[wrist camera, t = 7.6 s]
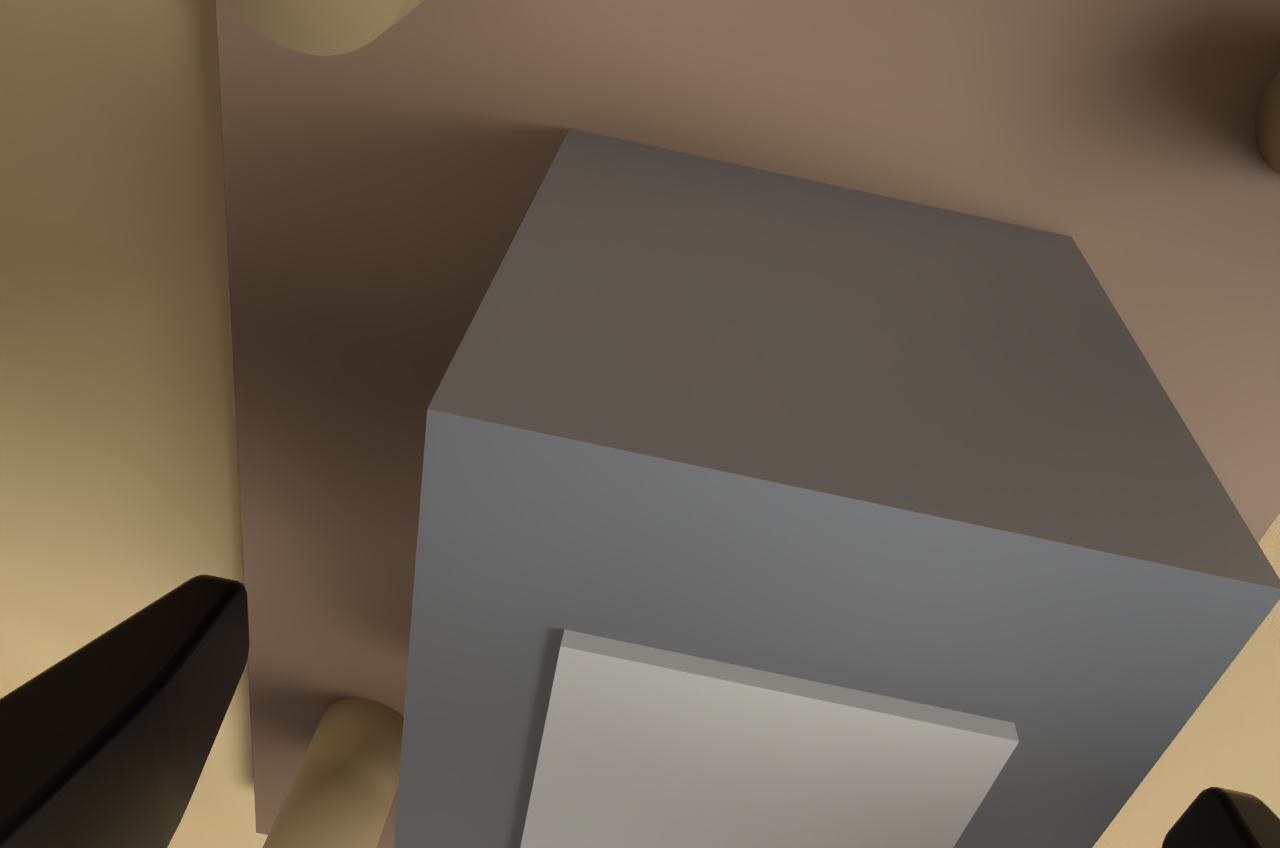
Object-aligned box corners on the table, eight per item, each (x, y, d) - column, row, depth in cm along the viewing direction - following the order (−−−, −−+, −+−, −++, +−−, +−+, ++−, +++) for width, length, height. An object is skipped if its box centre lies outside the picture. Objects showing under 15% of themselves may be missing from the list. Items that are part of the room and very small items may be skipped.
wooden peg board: (943, 930, 18) (974, 1142, 15) (275, 792, 18) (186, 982, 15) (1765, -293, 8) (2289, -307, 5) (231, -651, 8) (-65, -864, 5)
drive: (835, 748, 14) (863, 1168, 10) (489, 677, 14) (373, 1071, 10) (1071, 236, 10) (1295, 608, 6) (569, 128, 10) (418, 424, 6)
